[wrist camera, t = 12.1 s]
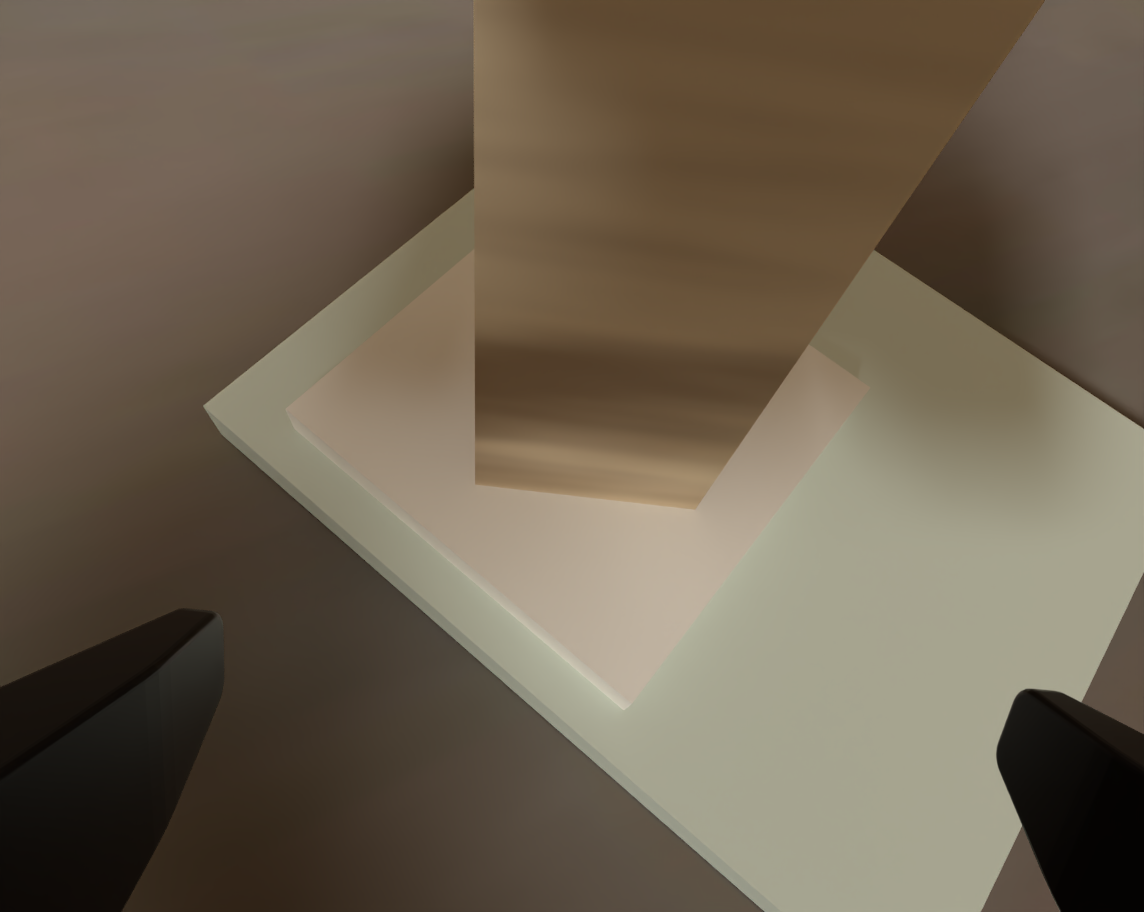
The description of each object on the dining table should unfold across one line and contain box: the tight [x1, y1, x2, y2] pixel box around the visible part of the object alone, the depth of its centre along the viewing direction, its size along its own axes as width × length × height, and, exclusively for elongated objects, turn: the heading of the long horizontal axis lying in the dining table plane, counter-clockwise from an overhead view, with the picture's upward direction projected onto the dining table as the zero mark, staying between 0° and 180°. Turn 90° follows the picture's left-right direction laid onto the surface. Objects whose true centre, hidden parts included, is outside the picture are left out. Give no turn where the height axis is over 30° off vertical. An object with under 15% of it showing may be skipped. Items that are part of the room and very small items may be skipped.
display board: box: [203, 189, 1144, 912], centre depth 20 cm, size 20×16×2 cm
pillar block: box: [474, 0, 1045, 510], centre depth 13 cm, size 5×5×13 cm
